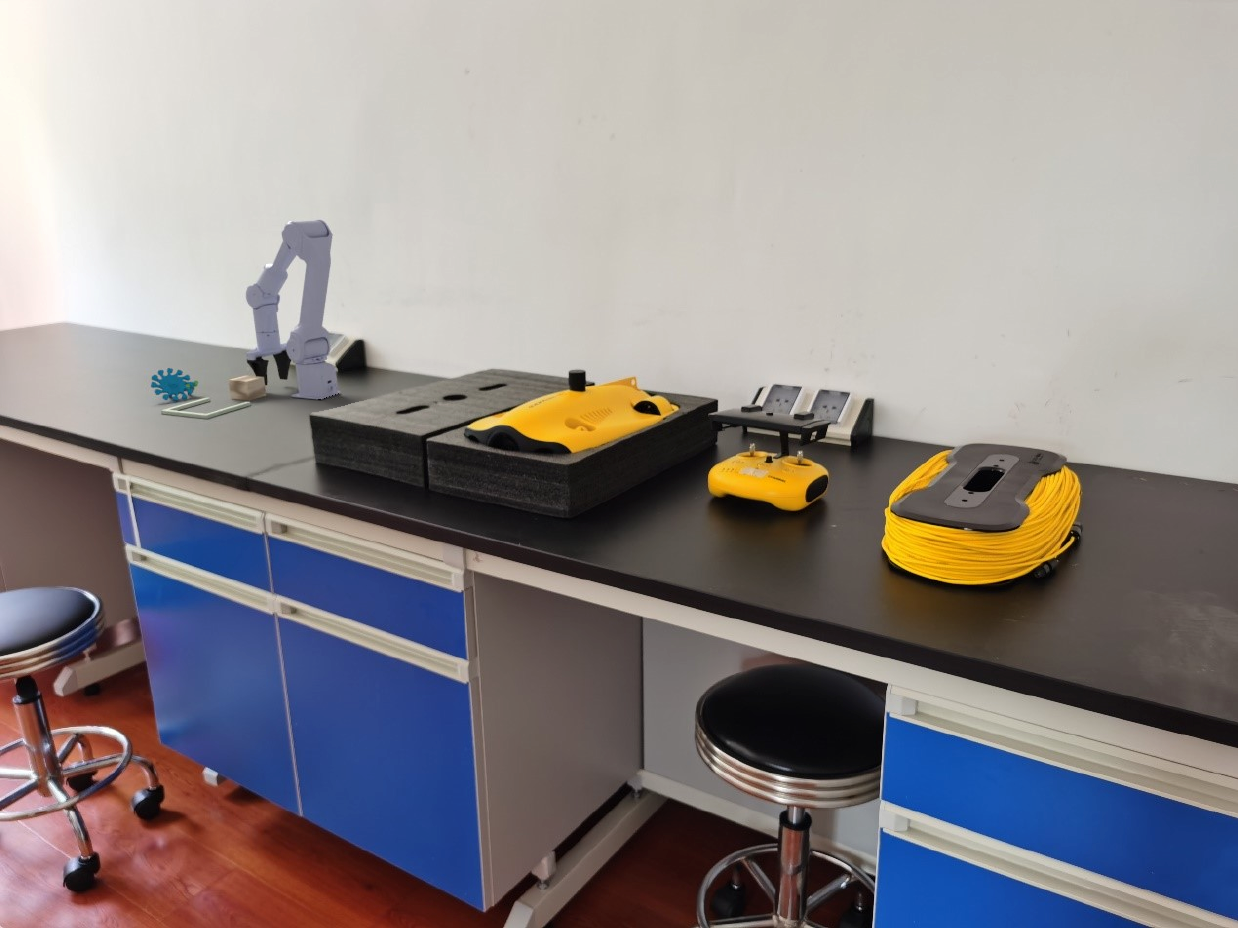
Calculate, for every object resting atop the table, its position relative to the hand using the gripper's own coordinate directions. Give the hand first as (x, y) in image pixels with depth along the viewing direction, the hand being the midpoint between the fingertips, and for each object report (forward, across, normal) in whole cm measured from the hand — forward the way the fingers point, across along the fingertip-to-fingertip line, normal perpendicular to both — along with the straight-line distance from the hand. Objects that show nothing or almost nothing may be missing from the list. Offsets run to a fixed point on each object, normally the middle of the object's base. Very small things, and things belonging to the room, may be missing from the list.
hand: (273, 382), depth 242 cm
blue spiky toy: (+2, +17, -16) cm, 24 cm away
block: (+2, +9, 0) cm, 10 cm away
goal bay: (+2, +23, 0) cm, 24 cm away
